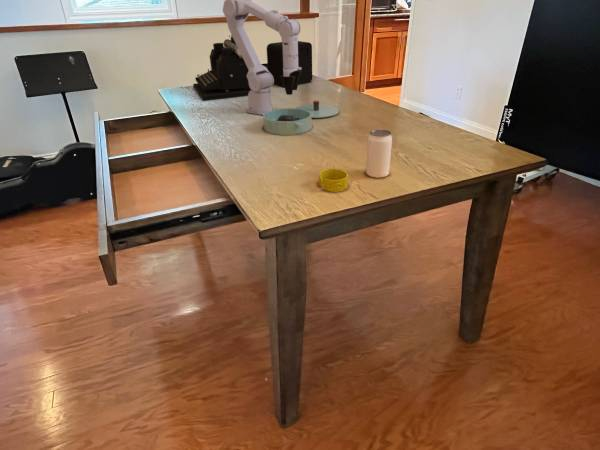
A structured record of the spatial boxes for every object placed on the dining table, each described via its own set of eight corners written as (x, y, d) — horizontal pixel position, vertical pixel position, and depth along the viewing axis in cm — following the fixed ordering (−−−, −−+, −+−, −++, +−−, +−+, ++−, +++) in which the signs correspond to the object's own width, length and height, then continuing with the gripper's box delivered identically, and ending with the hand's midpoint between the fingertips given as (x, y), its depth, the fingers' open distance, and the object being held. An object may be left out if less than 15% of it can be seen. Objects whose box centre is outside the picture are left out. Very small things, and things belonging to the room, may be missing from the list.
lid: (306, 121, 161) (306, 109, 159) (286, 110, 176) (285, 99, 174) (347, 114, 168) (348, 103, 166) (324, 104, 183) (324, 93, 181)
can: (386, 168, 120) (389, 128, 114) (391, 178, 114) (395, 136, 108) (364, 169, 120) (366, 129, 113) (368, 178, 114) (370, 137, 108)
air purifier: (296, 78, 234) (295, 39, 223) (312, 81, 224) (312, 41, 214) (266, 83, 223) (264, 43, 213) (282, 87, 213) (280, 46, 203)
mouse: (276, 127, 155) (275, 116, 152) (279, 123, 159) (279, 113, 156) (296, 128, 153) (296, 117, 151) (299, 124, 157) (299, 113, 155)
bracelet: (335, 177, 116) (335, 166, 114) (353, 187, 110) (354, 175, 108) (314, 183, 112) (313, 172, 111) (331, 194, 107) (331, 182, 105)
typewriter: (193, 87, 219) (185, 36, 206) (243, 82, 227) (238, 32, 214) (203, 100, 194) (194, 43, 181) (258, 94, 202) (254, 39, 189)
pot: (278, 140, 144) (278, 126, 141) (254, 123, 162) (253, 110, 159) (323, 131, 150) (323, 118, 148) (295, 116, 168) (295, 104, 166)
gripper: (296, 58, 149) (297, 96, 155) (305, 52, 161) (305, 88, 168) (277, 58, 150) (279, 96, 157) (287, 52, 162) (289, 87, 169)
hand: (291, 92), depth 162 cm, fingers open, 7 cm apart
